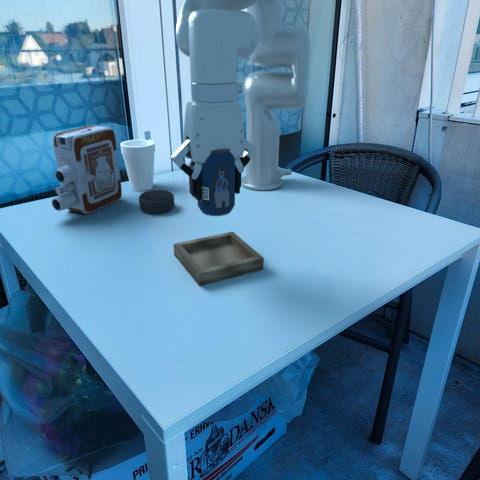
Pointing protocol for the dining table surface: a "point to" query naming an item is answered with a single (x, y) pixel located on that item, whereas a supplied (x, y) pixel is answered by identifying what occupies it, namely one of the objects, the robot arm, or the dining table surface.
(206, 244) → the taupe tray
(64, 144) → the cine camera
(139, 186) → the foam cup
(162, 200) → the smart speaker
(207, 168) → the soda can
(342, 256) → the dining table surface
